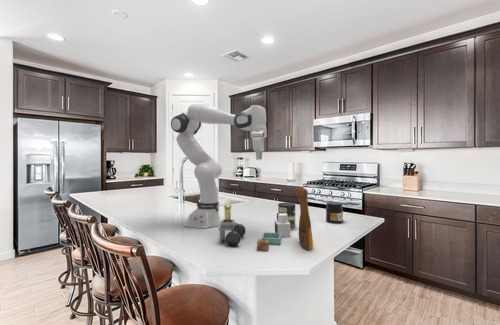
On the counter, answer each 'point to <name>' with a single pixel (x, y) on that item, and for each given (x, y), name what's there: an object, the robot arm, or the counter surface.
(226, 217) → the pin
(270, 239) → the tray
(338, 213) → the supplement container
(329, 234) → the counter surface
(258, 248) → the chock
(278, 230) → the medicine bottle
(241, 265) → the counter surface
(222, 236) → the trolley
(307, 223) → the brown wooden upright piece
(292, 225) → the coffee can
